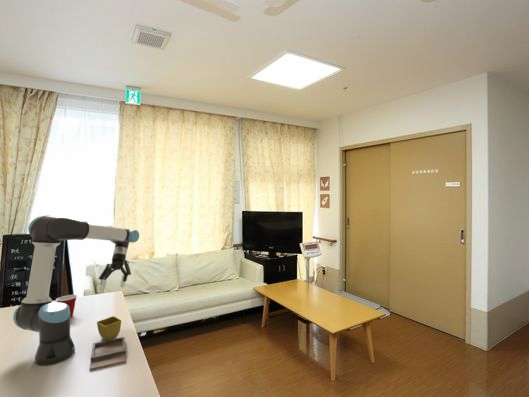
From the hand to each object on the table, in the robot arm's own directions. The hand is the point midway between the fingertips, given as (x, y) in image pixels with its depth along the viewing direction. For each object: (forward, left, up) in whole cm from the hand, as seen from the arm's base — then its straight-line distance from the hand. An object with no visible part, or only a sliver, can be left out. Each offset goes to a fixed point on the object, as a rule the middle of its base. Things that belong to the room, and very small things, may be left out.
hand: (111, 288), depth 174 cm
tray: (-26, -29, -19) cm, 43 cm away
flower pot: (-14, -15, -19) cm, 29 cm away
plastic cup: (-6, +31, -19) cm, 37 cm away
